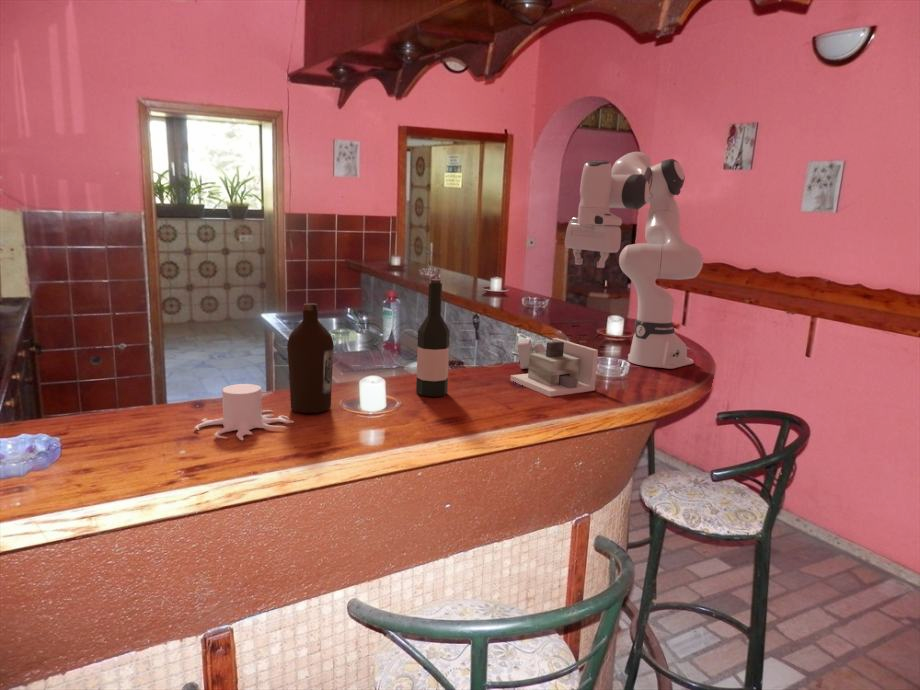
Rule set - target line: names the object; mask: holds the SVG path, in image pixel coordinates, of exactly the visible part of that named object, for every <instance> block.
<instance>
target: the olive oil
mask: <svg viewBox="0 0 920 690" xmlns="http://www.w3.org/2000/svg"><path fill="white" fill-rule="evenodd" d="M302 305H303V309H302V320H301V322H300V323H299V324H298V325H297V326H296V327H295V328H294V329H293V330H292V331H291V333H289V337H288V340H287V343H286V349H287V351H286V352H287V361H288V375H289V376H288V377H289V379H288V380H289V393H290V394H289V396H290V408H291V410H292V411H294V412H297V413H305V414H313V413H314V414H315V413H320V412H321V413H322V412H326V411H328V410H329V409H330V408H331V407H332V389H333V388H332V387H333V386H332V385H333V383H332V381H333V364H334V350H335V348H334V347H335V345H334V340H333V336H332V334H331V333H330V332H329V331H328V330H327V328H326V327H325V326H324V325H323V324H322V323H321V322H320V321H319V319H318V316H319V315H318V313H319V310H318V303H313V302H308V303H304V304H302Z"/></svg>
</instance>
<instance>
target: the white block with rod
mask: <svg viewBox="0 0 920 690" xmlns="http://www.w3.org/2000/svg"><path fill="white" fill-rule="evenodd" d="M517 352H518V358H519V365H520V366H519V367H520V369H521V370H524V369H529V355H530V354H534V353H544V352H546V348H545V346H544V345H543V344H542V343H541V342H536V343H535V344H534V345H533V344H532V339H531V338H527V339H520V340H519V341H518V342H517Z"/></svg>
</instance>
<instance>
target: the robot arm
mask: <svg viewBox="0 0 920 690" xmlns="http://www.w3.org/2000/svg"><path fill="white" fill-rule="evenodd" d="M685 177H686V176H685V172H684V168H683V167H682V165H681V164H680V163H679V162H678V160H676V159H674V158H669V159H665V160H662V161H661V162H659V163H657V164H654V165H652V161H651V158H650V157H649V155H647V154H646V153H644V152H642V151H631V152H628V153H626V154H624V155H623V156H621V157H620V158H618V159H617V160H616V161H615V162H614V163H613V164H612V163H611V162H610V161H608V160H592V161H591V160H590V161H587V162H585V163H584V165H583V169H582V173H581V178H580V186H579V195H580V200H579V201H580V202H579V204H578V211H577V212H578V213H577V217H572V218H571V219H570V220H569V221H568V225H567V228H566V231H565V236H564V237H565V238H564V246H565V248H566V249H572V254H573V257H574V264H575V265H579V266H580V265H581V266H582V265H583V263H584V262H583V261H584V259H583V258H582V256H581V253H582V251H583V250H584V251H592V252H599V256H600V258H599V260H598V261H596V267H597V268H599V269H604V268H605V267H606V261H607V259H608V258H609V256H610V254H611V253H612V254H613V253H618V252H619V251H620V248H621V244H622V243H621V240H622V229H621V226H622V223H623V221H622V218H621V217H619V216H617V215H615V214H614V213H612V212H610V210H611V209H612V208H613V209H614V208H615V209H630V210H636V211H637V210H640V209H641V208H643V207H645V206H646V205H647V204H649V205H650V206H649V208H648V211H647V215H646V218H645V219H646V221H645V230H644V231H645V232H644V238H645V241H646V243H645V242H643V243H641V242H639V243H633V244H627V245H626V246H624V248H623V249H622V250H621V251H620V254H619V258H618V264H619V265H618V266H619V267H620V270H621V271H622V273H623V274H625V275H626V276H627V277H628V279H629V280H630V282H632V284H633V285H634V288H635V291H636V294H637V312H636V313H637V315H636V319H635V321H634V331H635V332H634V334H633V337H632V341H631V346H630V351H629V353H628V354H627V357H628V358H627V361H628V362H630V363H632V364H634V365H638V366H643V367H650V368H663V369H670V370H671V369H672V370H673V369H676V368H677V369H678V368H681V367H685V366H688V365H689V366H690V365H692V364H694V359H692V358H690V357H687V355H688V347H687V345H686V343H685V342H684V341H682V339H681V338H679V336H678V335H677V334H675V330H676V329H677V330H680V328H681V323H680V322H675V321H674V322H673V314H674V306H675V305H674V304H675V302H674V300H675V299H674V297H673V296H672V294H671V293H669V292H668V291H666V290H665V289H663V288H662V287H660V286H658V284H657V283H656V281H657V280H658V279H661V280H674V281H675V280H676V281H677V280H679V281H681V280H690V279H694V278H696V277H697V276H698V275H699V274H700V273H701V270H702V269H703V266H704V259H703V258H704V257H703V255H702V253H701V251H700V249H698V248H696V247H695V246H692V245H691V244H690V243H688V242H686V240H685V239H684V238H683V237H682V235H681V218H680V217H681V215H680V214H681V213H680V209H679V205H678V203H677V201H676V199H675V196H679V195H680V193H681V190H682V187H683V186H684V183H685V179H686V178H685Z"/></svg>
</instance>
